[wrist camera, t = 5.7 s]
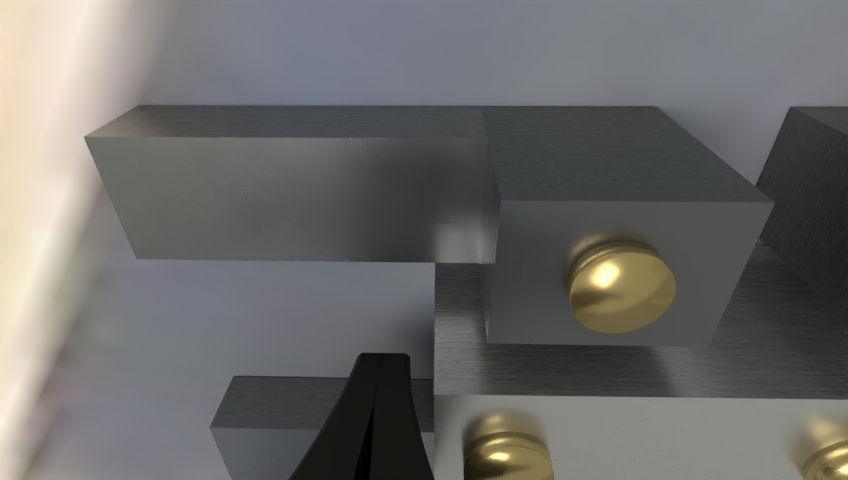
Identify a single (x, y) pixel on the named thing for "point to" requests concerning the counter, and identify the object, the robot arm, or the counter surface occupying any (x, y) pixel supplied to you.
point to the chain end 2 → (811, 200)
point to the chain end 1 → (440, 225)
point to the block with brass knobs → (647, 393)
